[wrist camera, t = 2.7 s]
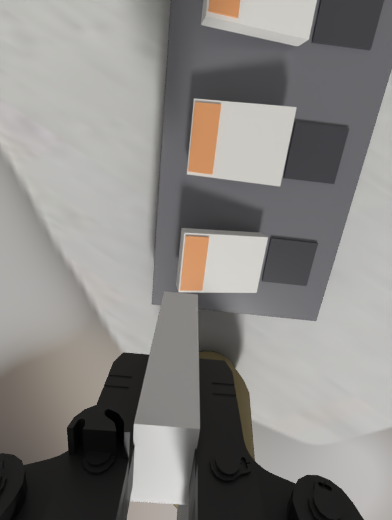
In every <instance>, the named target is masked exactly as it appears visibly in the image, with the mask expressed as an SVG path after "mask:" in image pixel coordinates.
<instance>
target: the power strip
mask: <svg viewBox="0 0 392 520" xmlns="http://www.w3.org/2000/svg"><path fill="white" fill-rule="evenodd" d="M202 8H203V0H171V9H170V24H169V40H168V56H167V72H166V87H165V103H164V119H163V135H162V150H161V166H160V182H159V198H158V213H157V229H156V245H155V261H154V277H153V292H152V304H154V305H161V303H162V298H163V294H164V291H166V292H176V293H186V294H196V295H198V309H203V310H213V311H223V312H232V313H242V314H252V315H262V316H271V317H281V318H291V319H301V320H310V321H316V320H317V316H318V313H319V310H320V306H321V303H322V300H323V296H324V293H325V290H326V286H327V283H328V280H329V276H330V273H331V270H332V266H333V263H334V260H335V256H336V253H337V250H338V246H339V243H340V240H341V236H342V233H343V230H344V226H345V223H346V220H347V216H348V213H349V210H350V206H351V203H352V200H353V196H354V193H355V190H356V186H357V183H358V180H359V176H360V173H361V170H362V166H363V163H364V159H365V156H366V153H367V149H368V146H369V143H370V139H371V136H372V133H373V129H374V126H375V123H376V119H377V116H378V113H379V109H380V106H381V103H382V99H383V96H384V93H385V89H386V86H387V83H388V79H389V76H390V73H391V69H392V0H317V3H316V7H315V12H314V17H313V22H312V27H311V32H310V36H309V40H307V41H306V42H304V43H303V44H301V45H299V46H293V45H289V44H284V43H280V42H275V41H271V40H266V39H262V38H257V37H253V36H248V35H244V34H239V33H235V32H230V31H226V30H221V29H217V28H212V27H208V26H203V25H201V19H202ZM194 99H206V100H218V101H230V102H242V103H253V104H265V105H277V106H289V107H297V108H296V113H295V118H294V123H293V127H292V132H291V137H290V142H289V147H288V151H287V156H286V161H285V166H284V171H283V175H282V180H281V185H280V186H272V185H264V184H257V183H249V182H241V181H234V180H226V179H218V178H211V177H203V176H196V175H188V174H187V167H188V156H189V145H190V135H191V124H192V114H193V103H194ZM182 228H191V229H208V230H225V231H242V232H260V233H263V234H264V235H265V236H267V237H268V240H267V245H266V250H265V255H264V260H263V264H262V269H261V274H260V279H259V284H258V289H257V293H198V292H178V289H177V286H176V282H177V271H178V261H179V250H180V240H181V229H182Z"/></svg>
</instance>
